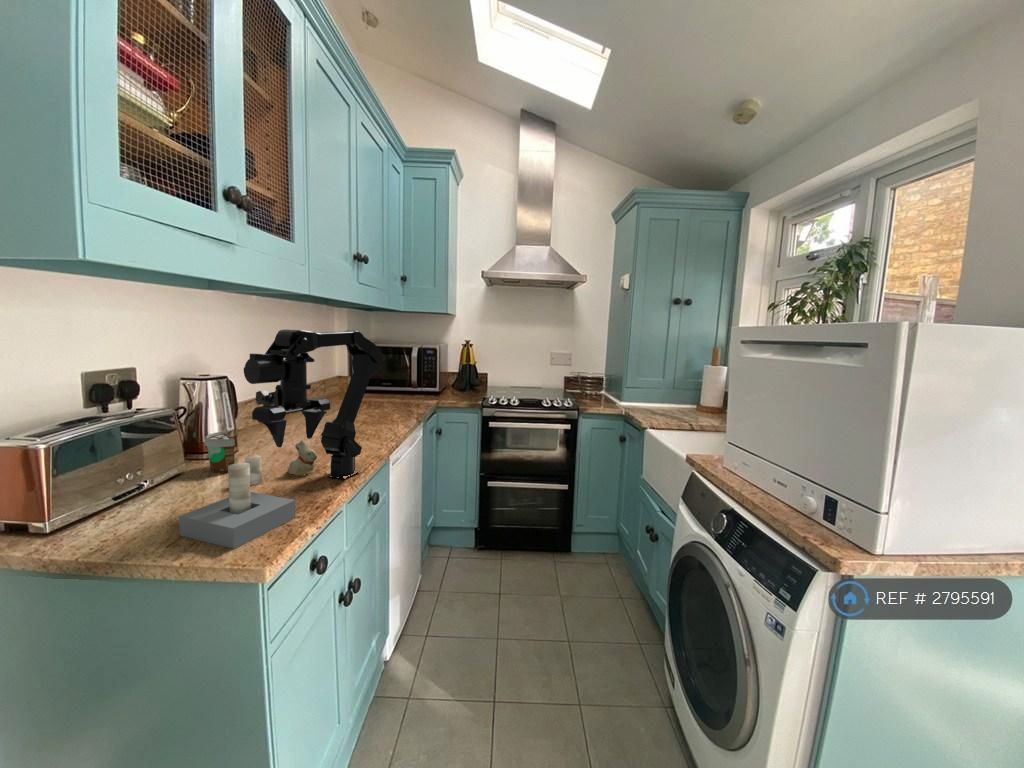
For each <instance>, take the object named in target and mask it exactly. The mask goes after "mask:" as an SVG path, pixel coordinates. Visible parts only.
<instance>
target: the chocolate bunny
mask: <svg viewBox="0 0 1024 768" xmlns="http://www.w3.org/2000/svg"><path fill="white" fill-rule="evenodd" d="M295 449H296V451H297V453H298V457H297V458H295V459H293V460H292V461H291V462H290V464H289V466H288V467H287V470H286V471H287V473H288V474H289V475H291V474H295V475H294V476H299V475H302V476H305V475H304V474H311V475H313V474H315V470H314V468H315V466H316V464H315V461H316V460H317V458H318V456H317V452H316V450H314V449H313V448H311V447H310V445H309V443H308V442H307V441H306V440H304V439H301V440H300V441H299V442H296V444H295ZM312 473H313V474H312Z"/></svg>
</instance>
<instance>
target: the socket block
mask: <svg viewBox="0 0 1024 768" xmlns="http://www.w3.org/2000/svg"><path fill="white" fill-rule="evenodd" d="M250 494H251V509H250V510H247V511H245V512H243V513H241V514H233V513H230V504H229V496H228V497H226V498H223V499H221V500H218V501H215V502H212V503H209V504H208V505H205V506H202V507H200V508H197V509H194V510H191V511H189V512H186V513H183V514H180V515H179V516H178V519H179V520H178V522H179V536H180V535H181V537H184V536H185V537H184V538H188V537H189V539H192V538H193V540H196V541H201V542H205V543H208V544H213V545H217V546H220V547H225V548H228V549H232V550H235V549H237V548H239V547H241V546H242V545H243V546H244V545H245V544H246V543H248V542H250V541H253V540H254V539H257V538H258V537H260V536H262V535H264V534H266V533H268V532H270V531H272V530H274V529H276V528H278V527H279V526H283V524H285V523H288V522H289V521H291V520H294V519H296V500H295V499H290V498H286V497H280V496H276V495H270V494H265V493H259V492H255V491H254V492H253V491H250Z"/></svg>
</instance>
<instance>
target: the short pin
mask: <svg viewBox="0 0 1024 768" xmlns="http://www.w3.org/2000/svg"><path fill="white" fill-rule="evenodd" d="M244 463H249V464H250V486H258V485H260V484H262V483H263V472H262V469H263V468H262V456H261V455H249V456H246V457H245V458H244Z"/></svg>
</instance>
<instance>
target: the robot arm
mask: <svg viewBox="0 0 1024 768" xmlns="http://www.w3.org/2000/svg"><path fill="white" fill-rule="evenodd" d="M335 346H336V347H337V346H345V347H346V350H347V353H348V354H349V355H350V356H351V358H352V359H351V367H352V371H353V372H352V376H351V378H350V381H349V383H348V385H347V389H346V391H345V394H344V396H343V399H342V401H341V404H340V407H339V409H338V412H337V415H336V417H335V419H334V420H332V422H330V421H326V422H325V424H324V428H323V429H322V432H321V433H320V436H321V438H320V443H321V445H322V447H323V449H324V451H325V453H326V455H330V472H329V473H327V474H326V477H327V476H332V477H339V478H343V476H348V475H350V476H351V474H353V473H354V471H355V470H356V457H358V456H359V455H361V452H362V449H363V447H362V445H360V444H359V443H358V442H357V441H356V440H355V439H356V436H357V435H356V434H357V432H356V431H357V430H356V427H355V421H356V419H357V415H358V413H359V410H360V408H361V404H362V402H363V399H364V396H365V393H366V390H367V387H368V385H369V382H370V379H371V377H373V376H374V374H376V373H377V372H378V371H379V370H380V368H381V366H382V364H383V362H384V359H385V357H384V354H383V351H382V350H381V348H379V347H378V346H377V345H376V344H375V343H374V342H373V341H371V340H369V338H367V337H365V336H364V335H363V333H362V332H361V331H358V330H344V331H326V332H323V331H322V332H316V331H315V332H314V331H310V330H302V329H281V330H278V332H277V334H276V335H275V338H274V340H273V341H272V343H271V344H270V345H269V347H268V349H267V350H266V352H265V353H249V359H247V360H246V362H245V365H244V367H243V374H244V378H245V380H246V381H247V382H248V383H249V384H252V385H255V384H256V385H258V384H270V383H279V382H280V384H276V385H275V390H274V391H272V392H269V391H268V390H264V389H263V390H259V391H257V392H255V402H256V405H258V406H256V407H254V408H253V410H252V411H251V419H252V421H253V420H255V421H257V422H258V423H260V424H263V425H264V426H266V427H267V429H268V430H269V432H270V434H271V437H272V439H273V441H274V443H275V445H276V448H282V447H283V443H284V440H285V433H286V429H287V428H286V426H287V421H288V420H286V419H285V417H286V416H287V415H289V414H294V413H298V412H301V414H302V415H303V416H304V418H305V419H304V420H305V433H306V434H305V435H306V438H307V439H309V440H310V439H313V436H314V434H315V432H316V429H317V428H318V426H319V425H320V423H321V421H322V419H323V417H324V416H325V415H326V414H327V413H328V411H330V410H331V402H330V401H329V399H328V398H320V397H319V398H318V397H312V398H311V397H310V398H308V390H310V389H311V388H312V386H311V384H308V379H307V376H308V375H307V365H308V364H307V363H315V361H316V359H314V357H312V356H311V355H309V353H310V352H314V351H315V350H316V349H319V348H323V347H324V348H325V347H326V348H327V347H335ZM261 405H262V406H261ZM358 471H359V472H360V470H358ZM357 473H358V472H357ZM358 474H359V473H358ZM332 477H331V478H332ZM348 477H349V476H348Z"/></svg>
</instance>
